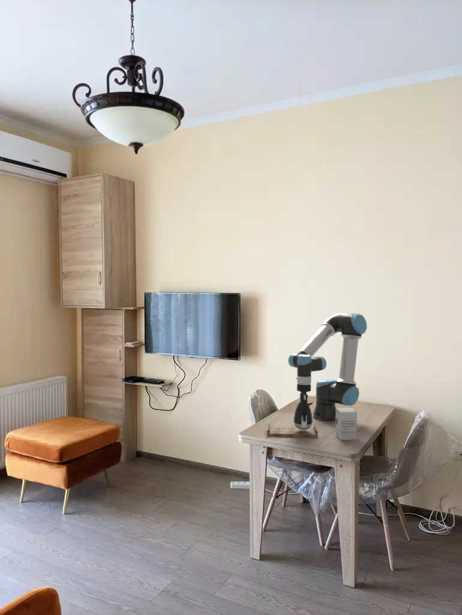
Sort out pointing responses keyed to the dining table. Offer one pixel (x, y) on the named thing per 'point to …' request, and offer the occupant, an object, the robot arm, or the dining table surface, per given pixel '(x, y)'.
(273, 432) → the ledge board
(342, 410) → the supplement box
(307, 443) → the dining table surface
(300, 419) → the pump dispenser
